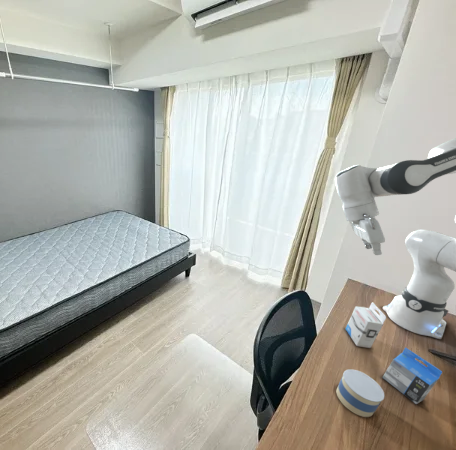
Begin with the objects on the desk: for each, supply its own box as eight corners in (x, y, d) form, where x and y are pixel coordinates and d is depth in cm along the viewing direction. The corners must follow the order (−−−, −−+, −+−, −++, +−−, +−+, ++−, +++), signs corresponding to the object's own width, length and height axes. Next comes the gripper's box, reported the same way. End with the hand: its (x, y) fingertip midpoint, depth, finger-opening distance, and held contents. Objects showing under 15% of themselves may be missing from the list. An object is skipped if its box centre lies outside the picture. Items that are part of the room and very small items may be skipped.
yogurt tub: (346, 380, 77) (354, 364, 74) (381, 409, 69) (391, 393, 67) (328, 392, 73) (336, 376, 71) (363, 423, 66) (373, 407, 63)
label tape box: (381, 377, 78) (397, 349, 74) (389, 373, 80) (405, 346, 75) (415, 405, 71) (436, 376, 66) (423, 400, 72) (444, 371, 67)
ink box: (344, 328, 97) (357, 299, 92) (358, 331, 96) (372, 301, 91) (356, 346, 90) (371, 314, 84) (371, 348, 89) (387, 317, 83)
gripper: (383, 212, 73) (397, 256, 73) (364, 208, 91) (375, 243, 90) (357, 218, 76) (371, 260, 76) (343, 213, 94) (354, 247, 94)
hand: (373, 251), depth 83 cm, fingers open, 8 cm apart
